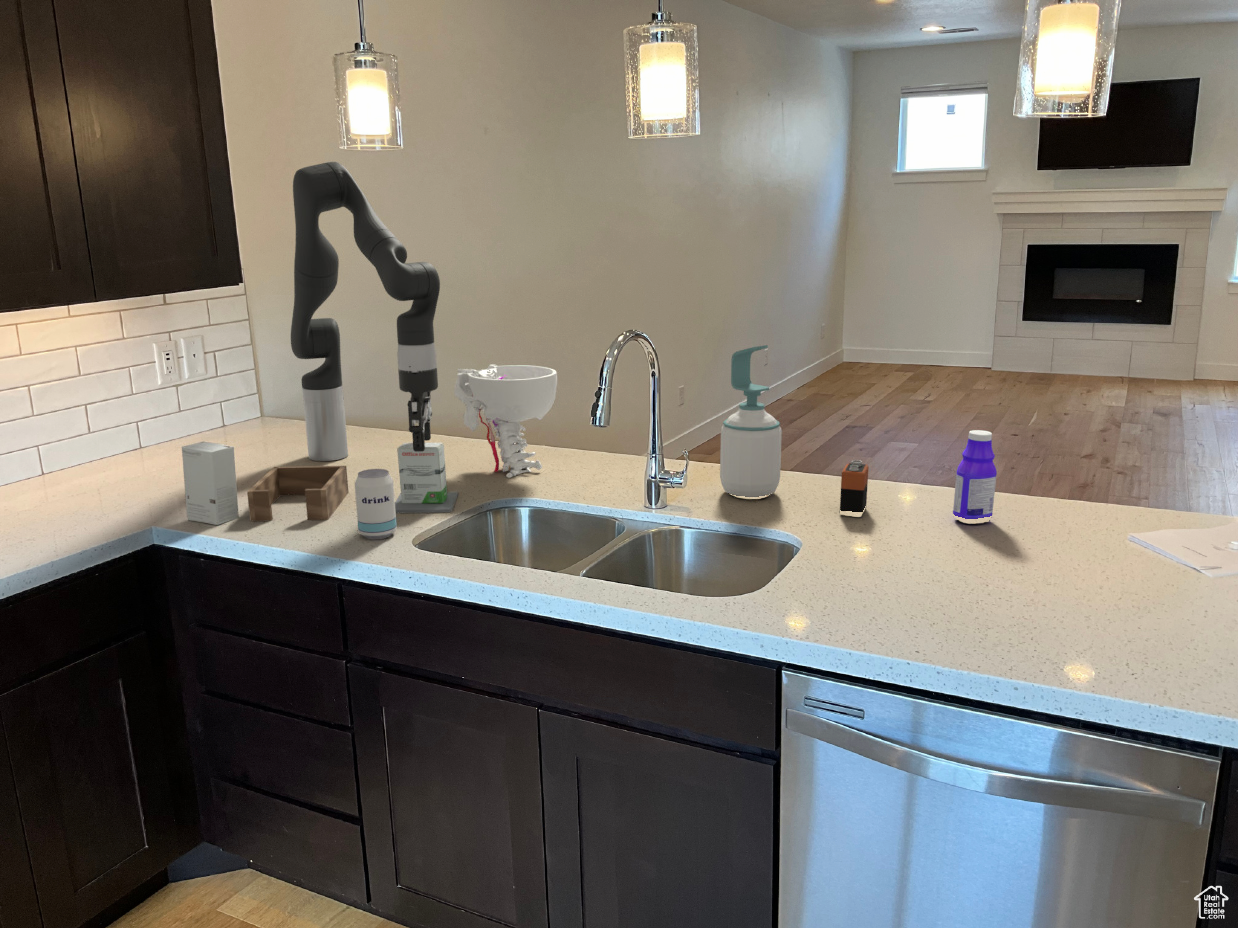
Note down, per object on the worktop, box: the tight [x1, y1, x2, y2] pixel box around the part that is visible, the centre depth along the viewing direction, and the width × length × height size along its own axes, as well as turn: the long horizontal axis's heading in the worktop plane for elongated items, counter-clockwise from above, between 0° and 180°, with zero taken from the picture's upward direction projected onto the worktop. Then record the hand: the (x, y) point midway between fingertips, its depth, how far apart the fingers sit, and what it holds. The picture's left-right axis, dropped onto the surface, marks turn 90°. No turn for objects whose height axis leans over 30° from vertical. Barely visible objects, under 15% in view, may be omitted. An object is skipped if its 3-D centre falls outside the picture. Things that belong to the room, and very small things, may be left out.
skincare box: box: [181, 441, 239, 526], centre depth 194 cm, size 8×6×15 cm
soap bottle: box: [719, 344, 783, 497], centre depth 204 cm, size 12×12×31 cm
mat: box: [395, 491, 459, 514], centre depth 204 cm, size 12×12×1 cm
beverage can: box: [354, 468, 398, 540], centre depth 184 cm, size 7×7×12 cm
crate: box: [246, 465, 349, 522], centre depth 202 cm, size 18×15×6 cm
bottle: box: [952, 429, 997, 519], centre depth 187 cm, size 7×6×17 cm
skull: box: [453, 364, 558, 478], centre depth 225 cm, size 25×19×23 cm
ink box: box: [396, 442, 448, 504], centre depth 202 cm, size 9×5×12 cm, turn 86°
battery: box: [839, 459, 869, 512], centre depth 194 cm, size 4×7×10 cm, turn 159°
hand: (422, 445), depth 201 cm, fingers open, 8 cm apart
